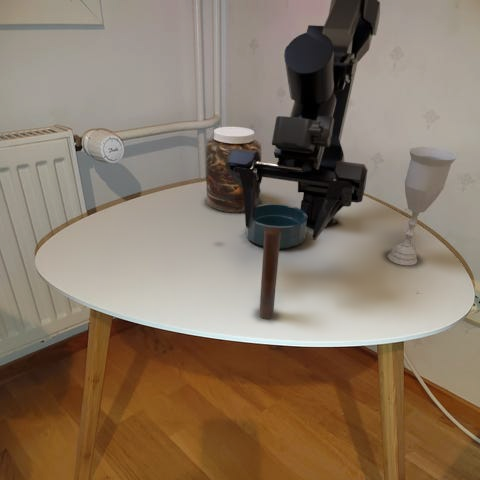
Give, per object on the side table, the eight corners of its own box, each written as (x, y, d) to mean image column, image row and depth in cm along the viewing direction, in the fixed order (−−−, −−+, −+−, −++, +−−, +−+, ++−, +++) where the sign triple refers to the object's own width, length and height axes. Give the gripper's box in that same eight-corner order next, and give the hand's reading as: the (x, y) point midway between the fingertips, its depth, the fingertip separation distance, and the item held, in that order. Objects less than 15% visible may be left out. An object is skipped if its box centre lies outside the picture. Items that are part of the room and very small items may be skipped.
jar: (263, 196, 97) (267, 127, 88) (253, 215, 88) (256, 140, 79) (214, 191, 99) (214, 122, 90) (199, 209, 90) (197, 135, 81)
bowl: (281, 221, 86) (283, 199, 84) (316, 242, 79) (320, 219, 76) (235, 232, 81) (235, 210, 79) (267, 256, 74) (269, 232, 71)
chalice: (376, 249, 77) (402, 146, 66) (412, 248, 78) (442, 147, 67) (391, 268, 71) (421, 160, 61) (429, 268, 72) (466, 160, 61)
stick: (267, 309, 61) (274, 225, 53) (275, 316, 59) (284, 231, 52) (256, 313, 60) (261, 228, 52) (264, 320, 59) (270, 235, 51)
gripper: (231, 80, 53) (197, 194, 51) (383, 93, 48) (352, 219, 46) (249, 134, 63) (221, 230, 62) (374, 148, 59) (349, 253, 57)
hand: (279, 233), depth 56 cm, fingers open, 9 cm apart
